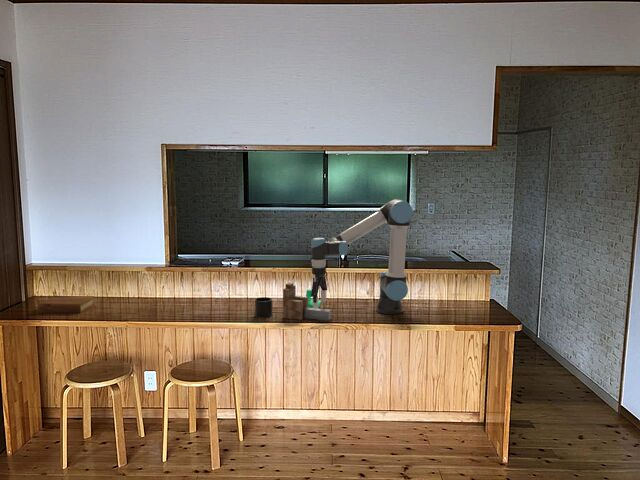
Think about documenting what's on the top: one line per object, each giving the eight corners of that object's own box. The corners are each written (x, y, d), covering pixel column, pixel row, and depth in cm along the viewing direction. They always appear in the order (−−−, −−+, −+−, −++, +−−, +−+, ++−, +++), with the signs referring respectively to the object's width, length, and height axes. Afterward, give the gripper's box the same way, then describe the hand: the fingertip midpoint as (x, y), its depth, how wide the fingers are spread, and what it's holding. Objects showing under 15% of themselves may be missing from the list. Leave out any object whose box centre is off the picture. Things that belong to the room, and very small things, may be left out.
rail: (330, 318, 276) (331, 306, 275) (328, 320, 272) (328, 308, 271) (296, 315, 282) (296, 302, 281) (294, 317, 278) (294, 304, 277)
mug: (275, 312, 288) (275, 296, 287) (269, 317, 276) (269, 301, 275) (259, 311, 290) (258, 295, 288) (253, 317, 278) (252, 301, 277)
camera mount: (318, 309, 294) (318, 292, 293) (305, 308, 296) (305, 291, 294) (321, 304, 306) (321, 287, 305) (308, 303, 307) (308, 287, 306)
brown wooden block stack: (308, 314, 284) (308, 282, 281) (301, 319, 273) (301, 287, 271) (290, 312, 287) (290, 281, 285) (283, 317, 277) (283, 285, 274)
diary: (39, 314, 283) (38, 304, 282) (55, 305, 301) (55, 296, 301) (80, 313, 283) (79, 303, 282) (94, 305, 302) (94, 295, 301)
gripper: (319, 262, 285) (320, 298, 288) (304, 270, 262) (305, 310, 265) (332, 262, 283) (332, 299, 286) (318, 271, 259) (318, 311, 262)
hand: (319, 305), depth 275 cm, fingers open, 13 cm apart
